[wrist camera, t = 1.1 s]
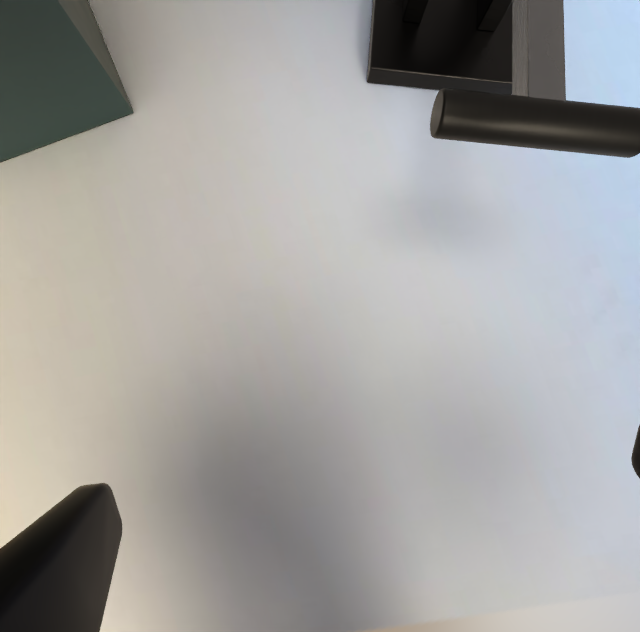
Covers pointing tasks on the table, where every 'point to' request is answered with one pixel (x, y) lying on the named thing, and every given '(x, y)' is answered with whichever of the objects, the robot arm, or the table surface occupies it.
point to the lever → (536, 98)
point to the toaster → (53, 74)
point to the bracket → (442, 44)
